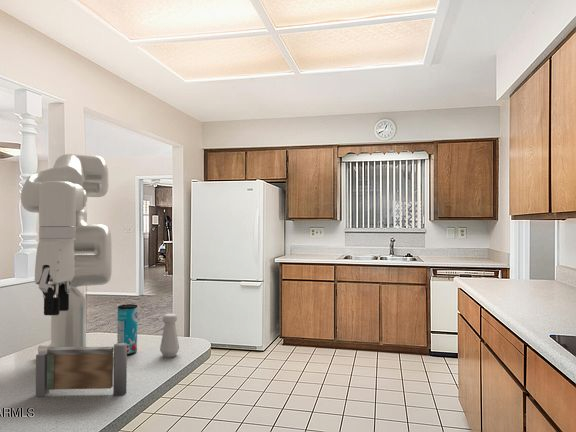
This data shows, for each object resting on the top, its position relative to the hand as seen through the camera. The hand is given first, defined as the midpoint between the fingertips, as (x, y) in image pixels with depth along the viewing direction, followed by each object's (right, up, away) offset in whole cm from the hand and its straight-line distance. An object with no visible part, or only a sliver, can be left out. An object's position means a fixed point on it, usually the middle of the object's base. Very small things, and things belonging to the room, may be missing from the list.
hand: (56, 311), depth 98 cm
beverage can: (+3, -22, +36) cm, 42 cm away
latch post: (-6, -21, +5) cm, 23 cm away
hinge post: (+13, -21, +6) cm, 25 cm away
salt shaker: (+17, -22, +34) cm, 44 cm away
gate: (+3, -20, +5) cm, 21 cm away
